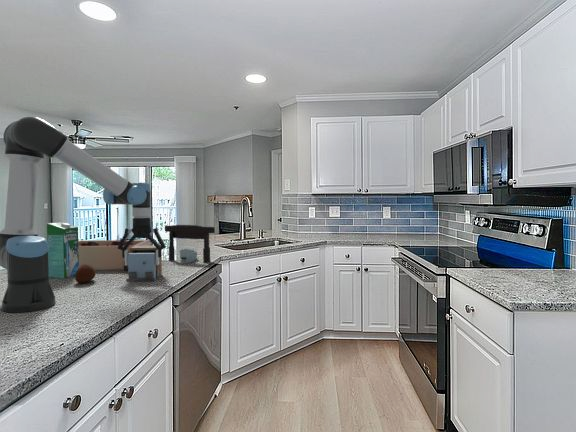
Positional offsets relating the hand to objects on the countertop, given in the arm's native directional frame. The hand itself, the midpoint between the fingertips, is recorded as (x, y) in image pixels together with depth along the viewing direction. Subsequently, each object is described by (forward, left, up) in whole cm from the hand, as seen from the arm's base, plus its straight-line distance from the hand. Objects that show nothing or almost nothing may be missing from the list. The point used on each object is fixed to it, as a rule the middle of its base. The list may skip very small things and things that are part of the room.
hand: (142, 264), depth 176 cm
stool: (+51, -13, -7) cm, 53 cm away
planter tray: (+41, +30, -7) cm, 51 cm away
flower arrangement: (+40, +29, -7) cm, 50 cm away
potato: (-3, +23, -7) cm, 24 cm away
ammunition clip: (+24, +10, -7) cm, 27 cm away
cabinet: (+4, 0, -7) cm, 8 cm away
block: (0, 0, -7) cm, 7 cm away
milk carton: (+12, +39, -7) cm, 41 cm away
